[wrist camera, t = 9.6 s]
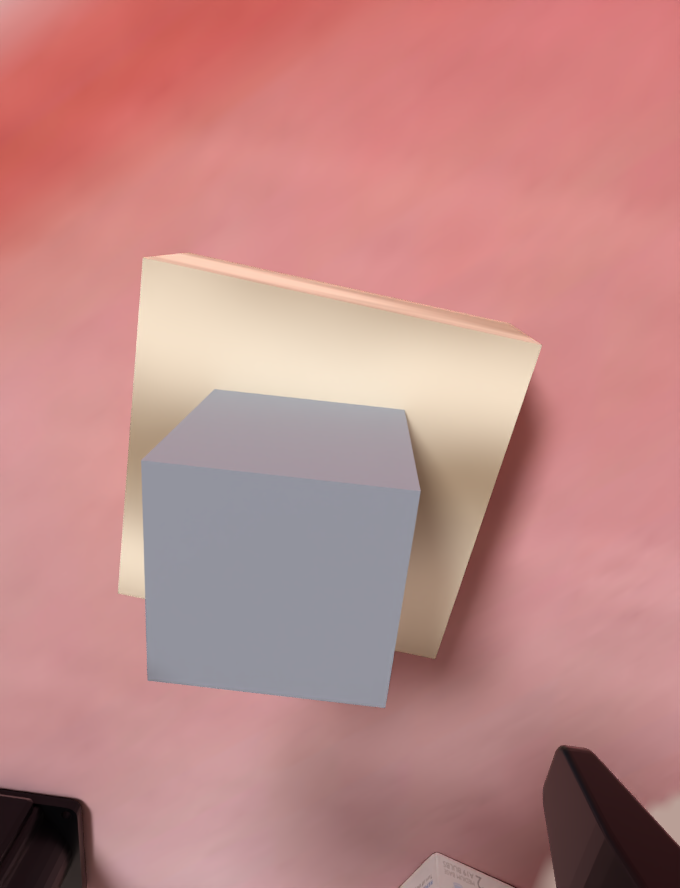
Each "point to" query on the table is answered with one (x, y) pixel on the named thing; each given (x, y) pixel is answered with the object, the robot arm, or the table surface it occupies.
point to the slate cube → (279, 547)
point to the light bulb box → (449, 875)
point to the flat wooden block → (335, 395)
